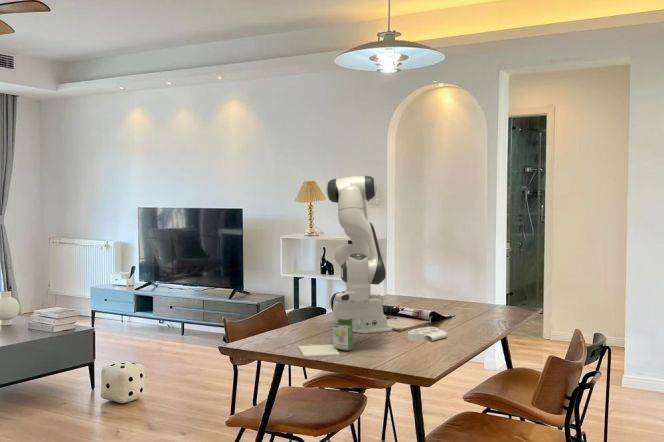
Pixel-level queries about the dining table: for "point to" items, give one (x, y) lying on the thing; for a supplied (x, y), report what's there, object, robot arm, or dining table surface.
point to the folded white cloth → (426, 334)
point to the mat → (318, 350)
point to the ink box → (343, 334)
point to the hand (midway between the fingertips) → (358, 329)
